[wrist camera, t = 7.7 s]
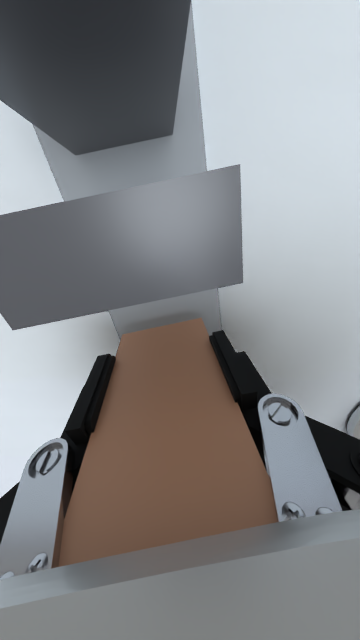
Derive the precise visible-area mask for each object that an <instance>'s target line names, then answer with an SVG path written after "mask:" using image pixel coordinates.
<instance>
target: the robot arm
mask: <svg viewBox="0 0 360 640" xmlns="http://www.w3.org/2000/svg"><path fill="white" fill-rule="evenodd" d="M209 340H210V343H211V345H212V348H213V350H214V352H215V355H216V357H217V360H218V362H219V365H220V367H221V370H222V372H223V374H224V377H225V379H226V382H227V384H228V387H229V389H230V392H231V394H232V396H233V399H234V401H235V403H238V405H239V407H240V410H241V412H242V414H243V417H244V419H245V422H246V424H247V426H248V429H249V431H250V433H251V436H252V438H253V440H254V443H255V445H256V448H257V450H258V452H259V455H260V457H261V459H262V462H263V464H264V466H265V469H266V471H267V473H268V476H269V479H270V484H271V490H272V495H273V501H274V506H275V512H276V518H277V522H276V523H271V524H266V525H261V526H256V527H251V528H246V529H241V530H236V531H231V532H226V533H221V534H216V535H211V536H206V537H201V538H196V539H191V540H186V541H181V542H177V543H172V544H167V545H162V546H157V547H152V548H147V549H142V550H138V551H133V552H128V553H123V554H118V555H113V556H108V557H104V558H99V559H94V560H89V561H85V562H80V563H75V564H70V565H66V566H61V567H59V559H60V550H61V542H62V533H63V525H64V518H65V515H66V512H67V509H68V506H69V502H70V499H71V496H72V493H73V490H74V487H75V483H76V480H77V477H78V474H79V471H80V468H81V464H82V461H83V458H84V455H85V452H86V449H87V445H88V442H89V439H90V436H91V433H94V430H95V427H96V424H97V421H98V417H99V414H100V411H101V407H102V404H103V401H104V398H105V394H106V391H107V388H108V384H109V381H110V378H111V375H112V371H113V368H114V365H115V361H116V358H115V356H111V355H110V354H106V355H101V356H98V357H97V359H96V361H95V363H94V366H93V368H92V370H91V372H90V375H89V377H88V379H87V381H86V384H85V386H84V387H83V389H82V391H81V393H80V395H79V398H78V400H77V402H76V404H75V406H74V409H73V411H72V413H71V415H70V418H69V420H68V422H67V424H66V427H65V429H64V431H63V433H62V436H61V438H56V439H52V440H50V441H48V442H46V443H45V444H43V445H42V446H41V447H39V448H38V449H37V450H36V451H35V452H34V453H33V454H32V456H31V457H30V459H29V460H28V461H27V463H26V465H25V468H24V470H23V473H22V477H21V480H20V482H19V483H17V484H16V485H15V486H14V487H13V488H12V489H11V490H9V491H8V492H7V493H6V494H5V495H4V496H3V497H1V498H0V640H360V406H359V407H358V408H357V409H356V410H355V411H354V412H353V414H352V415H351V417H350V419H349V421H348V424H347V432H348V434H349V435H348V434H346V433H344V432H341V431H339V430H337V429H334V428H332V427H330V426H327V425H325V424H323V423H320V422H318V421H316V420H313V419H311V418H309V417H306V416H304V413H303V411H302V409H301V408H300V406H299V405H298V404H297V403H296V402H295V401H294V400H292V399H291V398H289V397H287V396H284V395H281V394H271V392H270V390H269V389H268V387H267V386H266V384H265V383H264V381H263V379H262V378H261V376H260V375H259V373H258V372H257V370H256V368H255V367H254V365H253V364H252V362H251V361H250V359H249V357H248V356H247V354H246V353H245V352H244V351H243V352H239V353H236V352H235V350H234V349H233V347H232V345H231V343H230V342H229V340H228V338H227V336H226V335H225V333H224V331H223V330H221V331H216V332H212V335H210V336H209Z"/></svg>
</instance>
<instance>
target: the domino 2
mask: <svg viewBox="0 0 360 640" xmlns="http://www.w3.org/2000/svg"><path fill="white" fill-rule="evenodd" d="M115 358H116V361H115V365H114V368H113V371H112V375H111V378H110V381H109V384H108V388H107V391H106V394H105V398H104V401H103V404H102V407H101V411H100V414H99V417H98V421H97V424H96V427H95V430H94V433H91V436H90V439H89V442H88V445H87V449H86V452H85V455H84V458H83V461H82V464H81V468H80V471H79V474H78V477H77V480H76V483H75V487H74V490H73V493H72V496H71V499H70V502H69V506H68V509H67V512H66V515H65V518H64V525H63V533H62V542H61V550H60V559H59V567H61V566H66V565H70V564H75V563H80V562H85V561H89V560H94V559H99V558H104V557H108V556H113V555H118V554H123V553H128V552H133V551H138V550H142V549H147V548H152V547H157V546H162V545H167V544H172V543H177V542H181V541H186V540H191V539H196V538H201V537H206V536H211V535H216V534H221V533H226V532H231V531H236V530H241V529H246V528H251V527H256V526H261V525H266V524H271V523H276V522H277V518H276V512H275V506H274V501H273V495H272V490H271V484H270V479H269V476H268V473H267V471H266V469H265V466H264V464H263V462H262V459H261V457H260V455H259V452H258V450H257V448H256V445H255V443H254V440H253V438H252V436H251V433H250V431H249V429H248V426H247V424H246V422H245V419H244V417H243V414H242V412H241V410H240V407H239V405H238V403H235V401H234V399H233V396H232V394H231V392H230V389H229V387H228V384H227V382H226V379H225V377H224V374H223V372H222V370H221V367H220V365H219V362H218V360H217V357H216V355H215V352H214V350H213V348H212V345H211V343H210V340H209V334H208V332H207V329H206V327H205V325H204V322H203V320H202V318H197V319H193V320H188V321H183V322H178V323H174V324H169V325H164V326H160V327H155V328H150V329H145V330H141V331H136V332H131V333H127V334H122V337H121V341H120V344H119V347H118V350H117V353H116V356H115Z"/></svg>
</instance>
